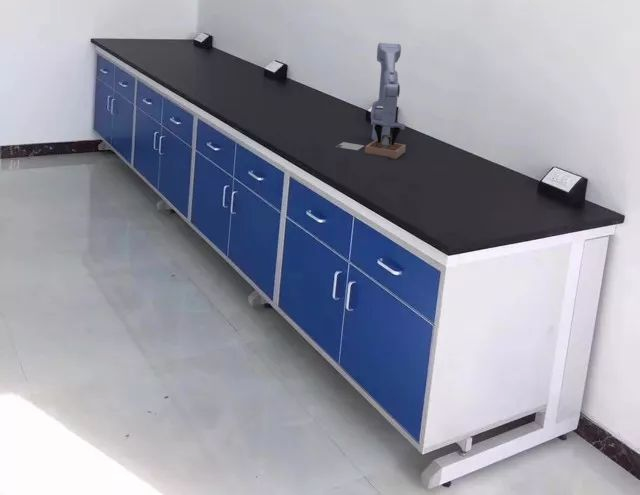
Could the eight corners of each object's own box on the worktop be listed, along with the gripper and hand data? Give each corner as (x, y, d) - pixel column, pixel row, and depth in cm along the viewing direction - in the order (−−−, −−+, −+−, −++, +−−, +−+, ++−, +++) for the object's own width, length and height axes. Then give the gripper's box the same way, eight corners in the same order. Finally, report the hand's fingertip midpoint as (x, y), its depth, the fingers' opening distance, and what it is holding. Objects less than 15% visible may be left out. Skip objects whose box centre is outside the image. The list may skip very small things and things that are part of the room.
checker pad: (343, 143, 352) (343, 141, 351) (364, 147, 348) (364, 145, 348) (335, 148, 343) (335, 146, 342) (357, 152, 340) (357, 149, 339)
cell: (381, 150, 343) (383, 133, 340) (390, 151, 341) (392, 134, 339) (379, 152, 339) (381, 135, 336) (387, 153, 338) (390, 136, 335)
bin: (374, 147, 349) (375, 140, 348) (405, 152, 345) (405, 144, 343) (364, 154, 337) (365, 146, 335) (396, 159, 332) (396, 151, 331)
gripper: (370, 111, 333) (367, 142, 338) (403, 116, 328) (399, 147, 333) (375, 108, 339) (372, 139, 344) (407, 113, 334) (404, 144, 339)
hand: (386, 143), depth 339 cm, fingers open, 5 cm apart
